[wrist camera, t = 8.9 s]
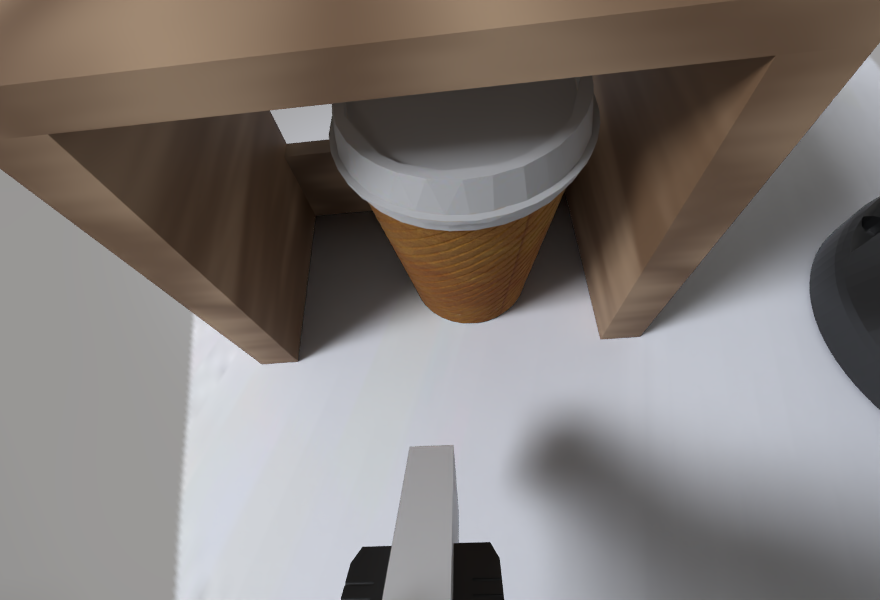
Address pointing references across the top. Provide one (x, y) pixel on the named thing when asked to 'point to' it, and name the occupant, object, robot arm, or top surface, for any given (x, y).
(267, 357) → the walnut shelf
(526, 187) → the disposable coffee cup
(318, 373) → the top surface
